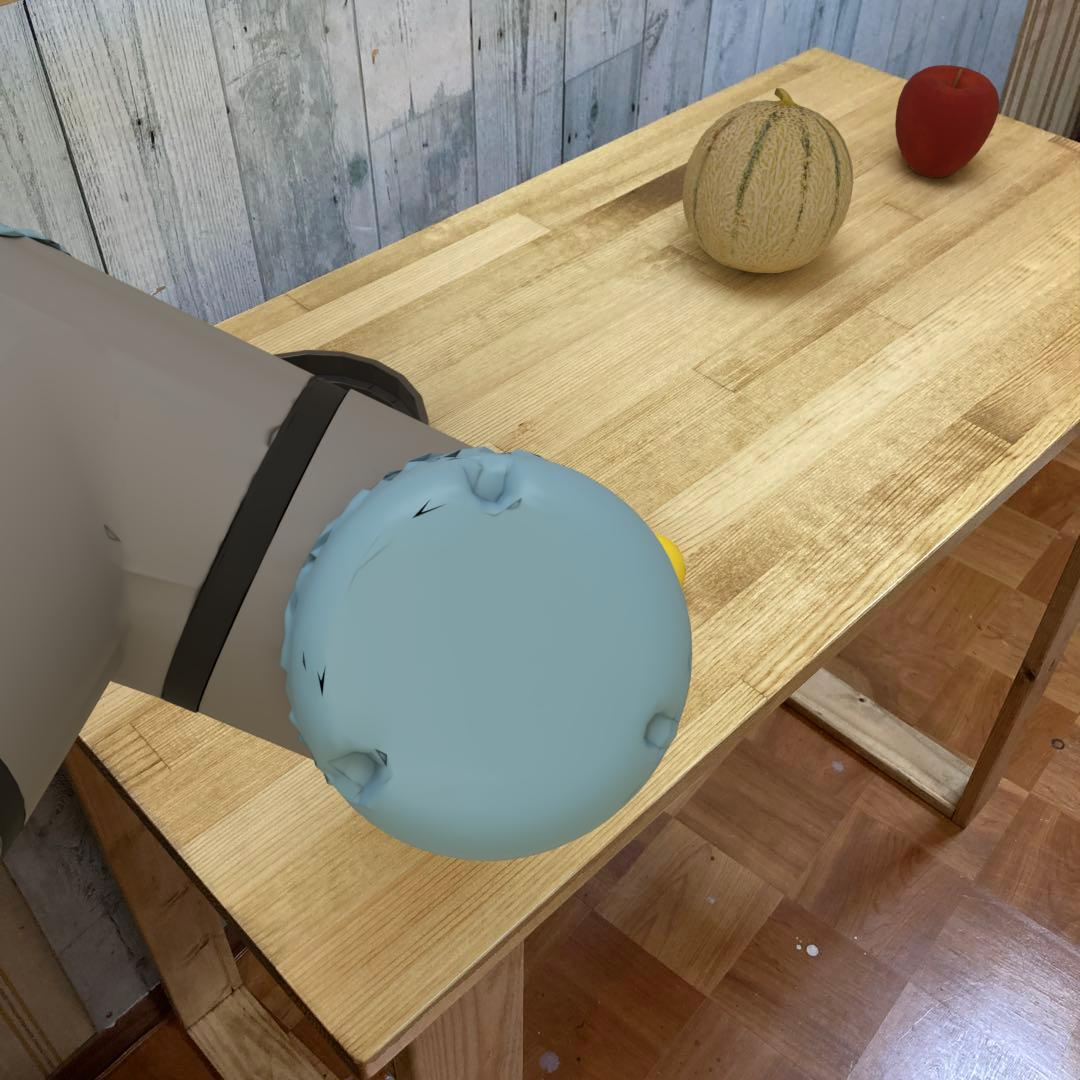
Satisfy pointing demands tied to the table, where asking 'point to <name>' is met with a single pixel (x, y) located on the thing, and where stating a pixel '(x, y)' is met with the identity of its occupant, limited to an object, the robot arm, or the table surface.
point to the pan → (362, 378)
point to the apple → (944, 118)
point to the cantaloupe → (768, 186)
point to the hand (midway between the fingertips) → (395, 575)
